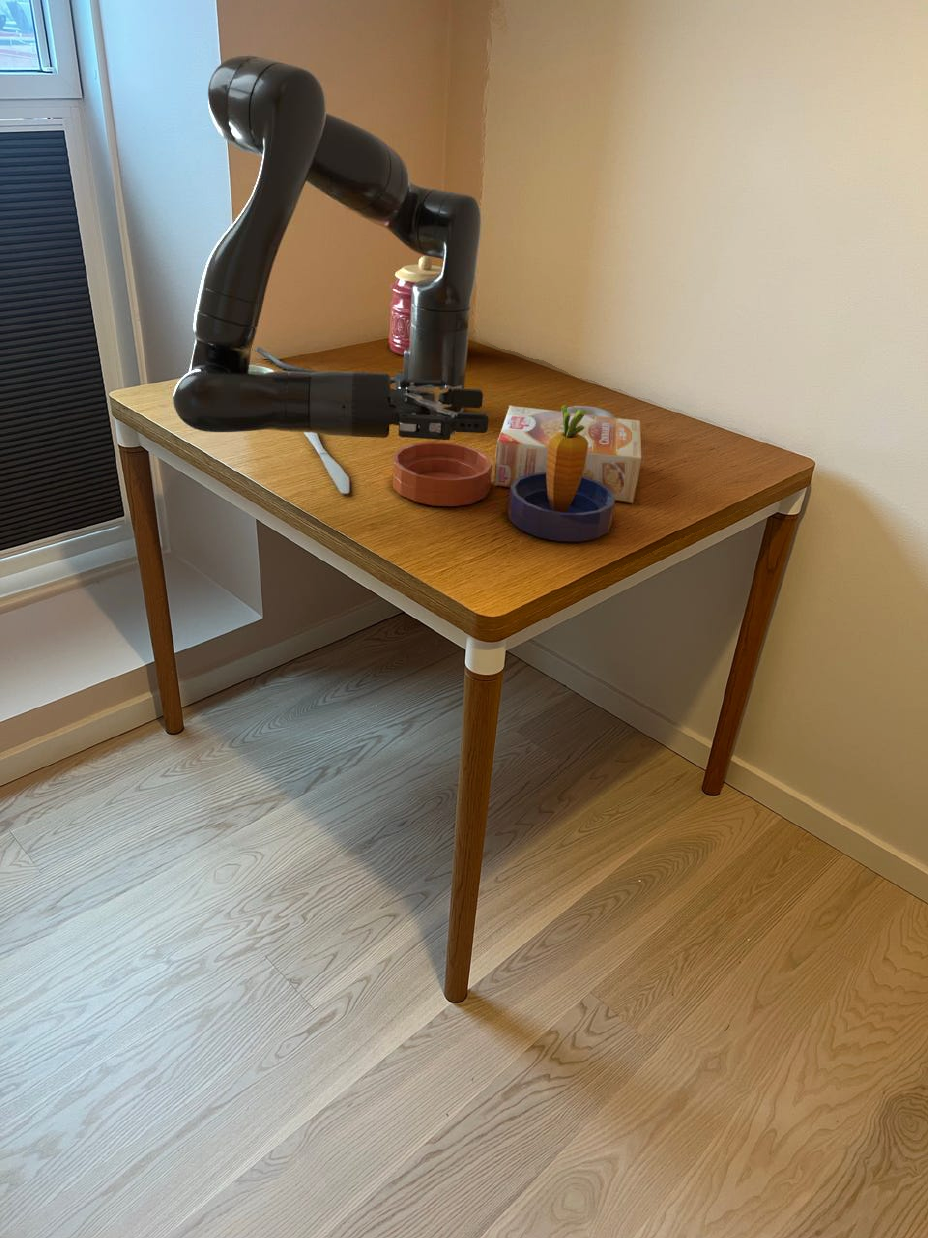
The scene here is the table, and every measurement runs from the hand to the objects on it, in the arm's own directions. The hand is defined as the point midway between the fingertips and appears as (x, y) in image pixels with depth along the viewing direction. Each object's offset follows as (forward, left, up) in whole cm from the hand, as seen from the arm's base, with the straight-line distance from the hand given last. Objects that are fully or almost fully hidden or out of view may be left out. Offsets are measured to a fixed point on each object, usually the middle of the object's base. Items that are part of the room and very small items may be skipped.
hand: (485, 410), depth 110 cm
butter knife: (-27, -1, -14) cm, 31 cm away
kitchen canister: (-56, +50, -14) cm, 77 cm away
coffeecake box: (+8, +26, -11) cm, 29 cm away
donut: (-8, +37, -14) cm, 41 cm away
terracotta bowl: (-9, +3, -14) cm, 17 cm away
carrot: (+8, +7, -14) cm, 18 cm away
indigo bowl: (+8, +7, -14) cm, 18 cm away
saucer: (-58, +9, -14) cm, 61 cm away
